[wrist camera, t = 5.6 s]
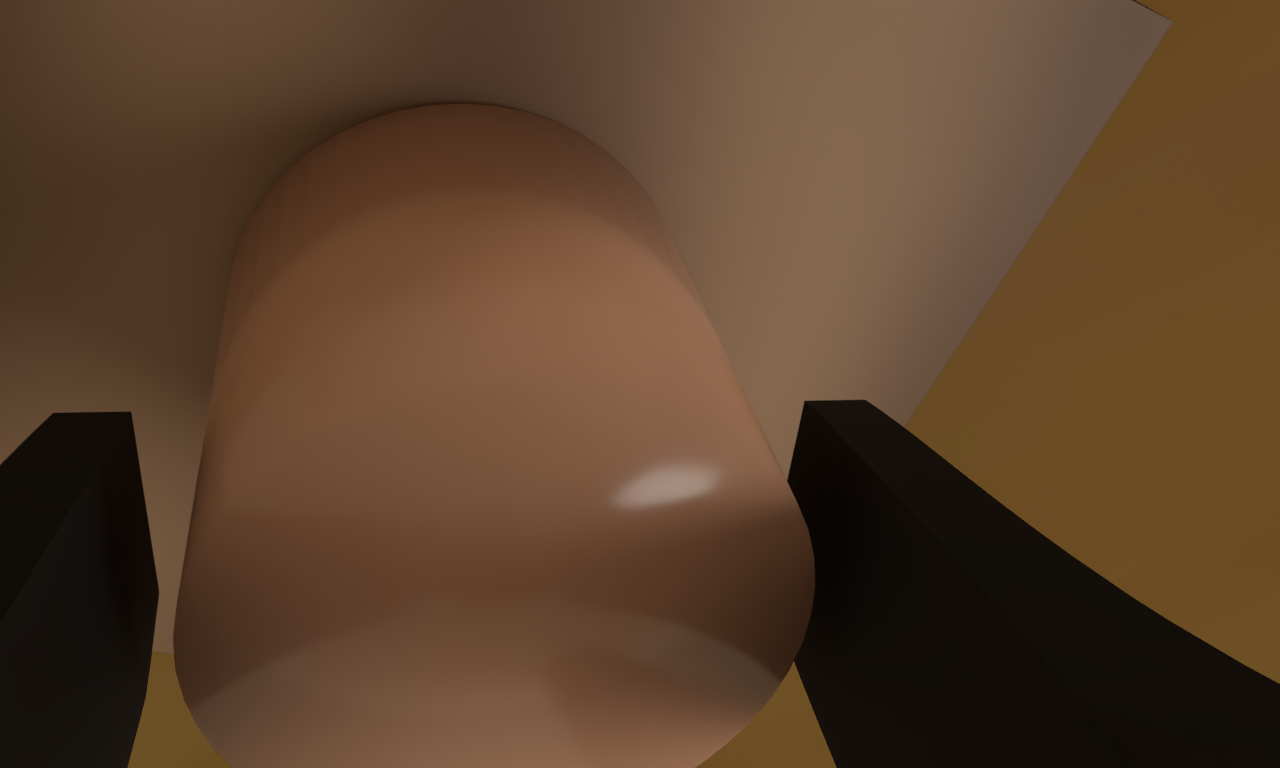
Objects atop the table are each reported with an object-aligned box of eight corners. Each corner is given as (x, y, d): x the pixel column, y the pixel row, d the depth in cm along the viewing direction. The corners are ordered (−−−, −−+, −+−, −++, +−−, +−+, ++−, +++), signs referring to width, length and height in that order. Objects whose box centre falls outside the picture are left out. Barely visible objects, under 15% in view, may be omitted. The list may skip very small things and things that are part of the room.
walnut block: (1015, -68, 16) (1172, 22, 13) (648, 565, 22) (695, 742, 18) (79, -547, 12) (-35, -594, 9) (-90, 399, 17) (-200, 591, 14)
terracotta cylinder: (701, 104, 13) (867, 363, 9) (657, 477, 15) (767, 804, 11) (202, 101, 12) (122, 393, 7) (251, 501, 14) (213, 871, 10)
